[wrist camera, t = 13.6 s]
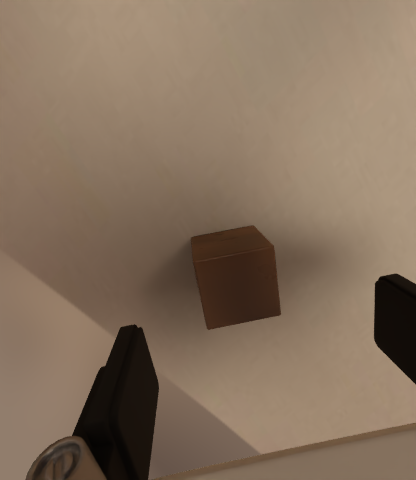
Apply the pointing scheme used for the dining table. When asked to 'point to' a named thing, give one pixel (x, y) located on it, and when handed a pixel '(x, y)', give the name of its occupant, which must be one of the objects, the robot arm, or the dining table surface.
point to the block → (236, 276)
